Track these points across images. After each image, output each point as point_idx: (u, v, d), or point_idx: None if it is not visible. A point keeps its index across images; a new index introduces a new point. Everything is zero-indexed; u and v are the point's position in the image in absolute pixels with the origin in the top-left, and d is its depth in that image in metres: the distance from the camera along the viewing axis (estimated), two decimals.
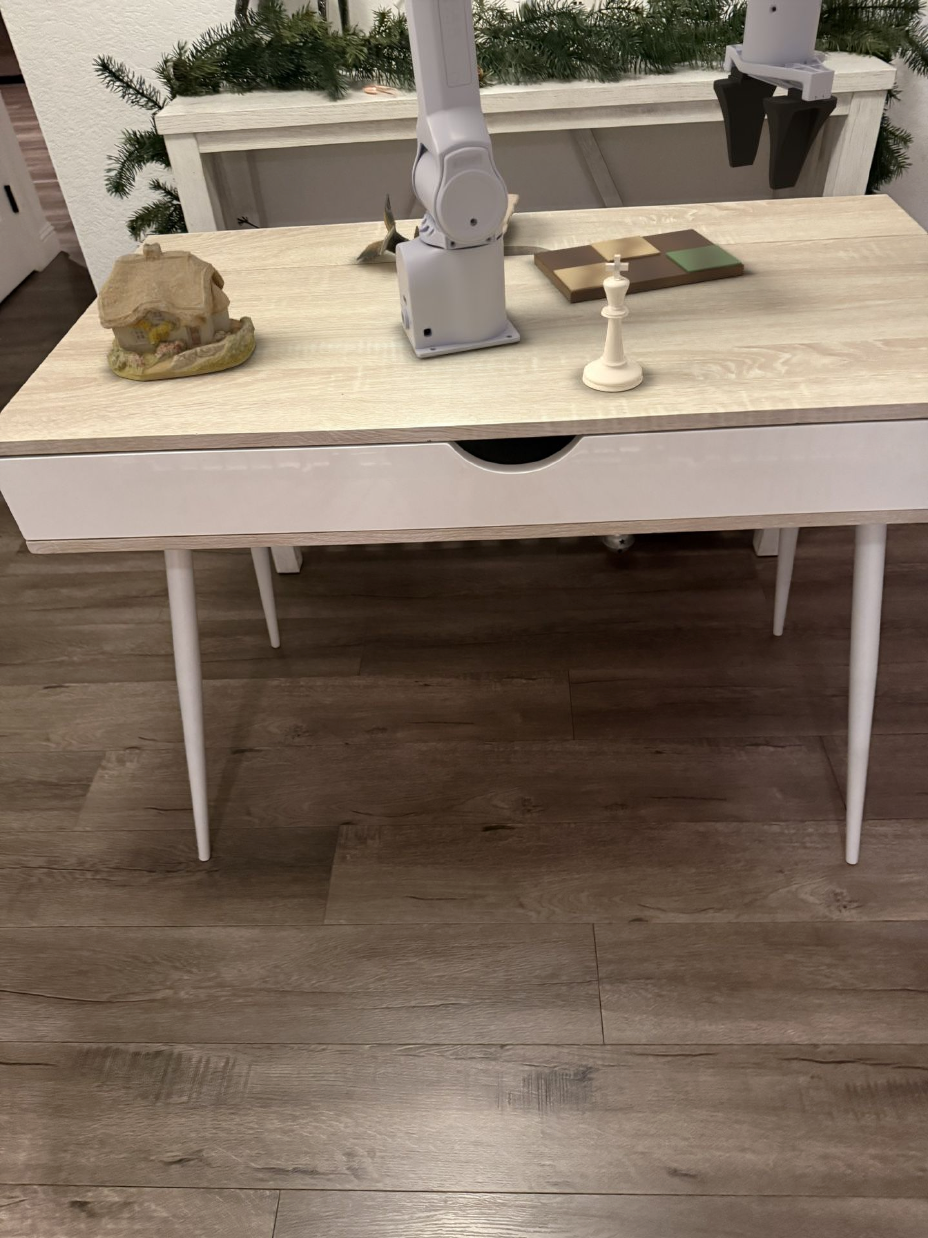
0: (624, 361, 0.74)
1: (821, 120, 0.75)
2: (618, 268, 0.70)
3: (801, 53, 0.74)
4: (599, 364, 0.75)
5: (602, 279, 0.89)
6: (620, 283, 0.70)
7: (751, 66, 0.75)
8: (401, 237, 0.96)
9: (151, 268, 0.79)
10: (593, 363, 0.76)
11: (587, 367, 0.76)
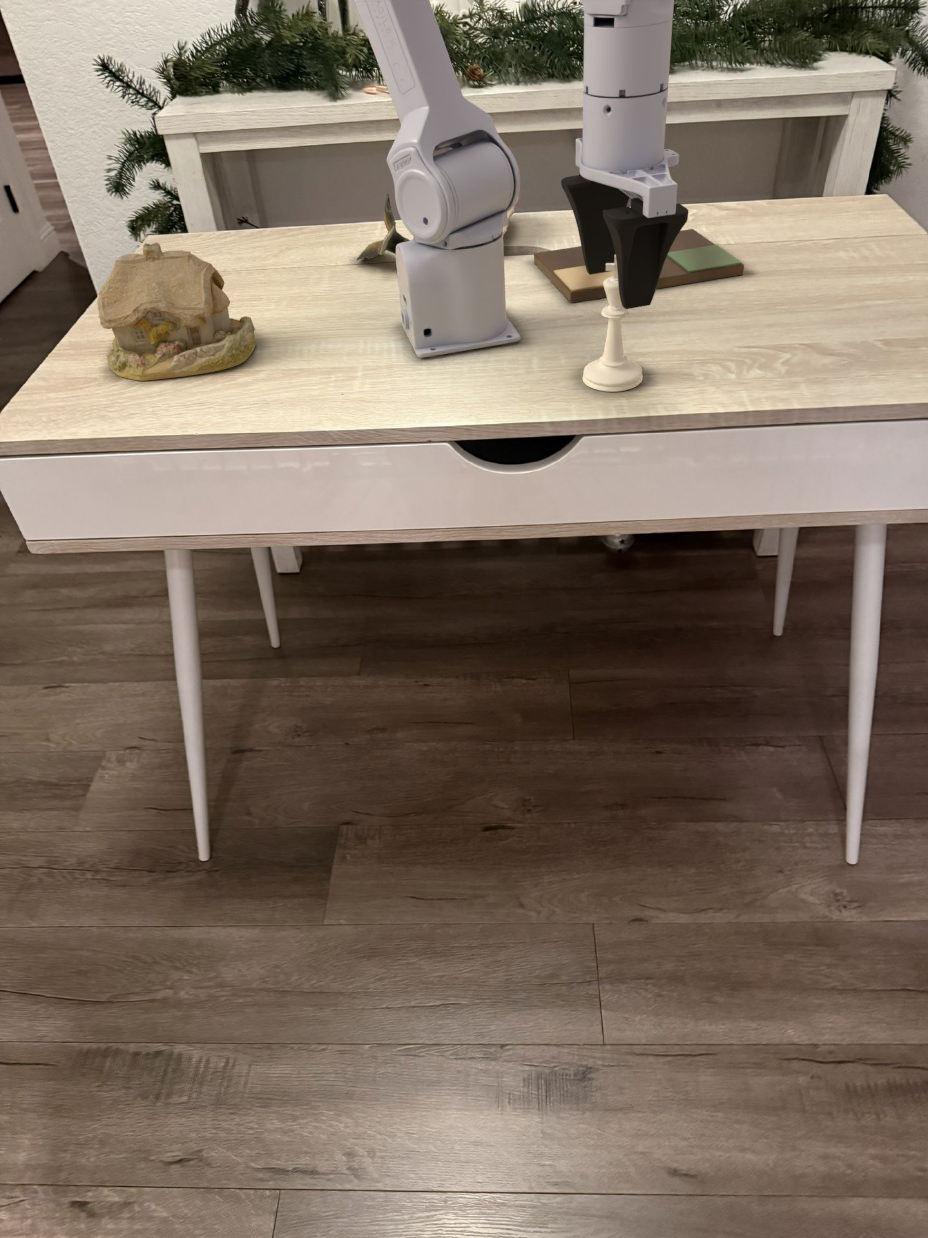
0: (624, 361, 0.74)
1: (671, 235, 0.64)
2: None
3: (646, 159, 0.63)
4: (599, 364, 0.75)
5: (602, 279, 0.89)
6: None
7: (590, 172, 0.64)
8: (401, 237, 0.96)
9: (151, 268, 0.79)
10: (593, 363, 0.76)
11: (587, 367, 0.76)
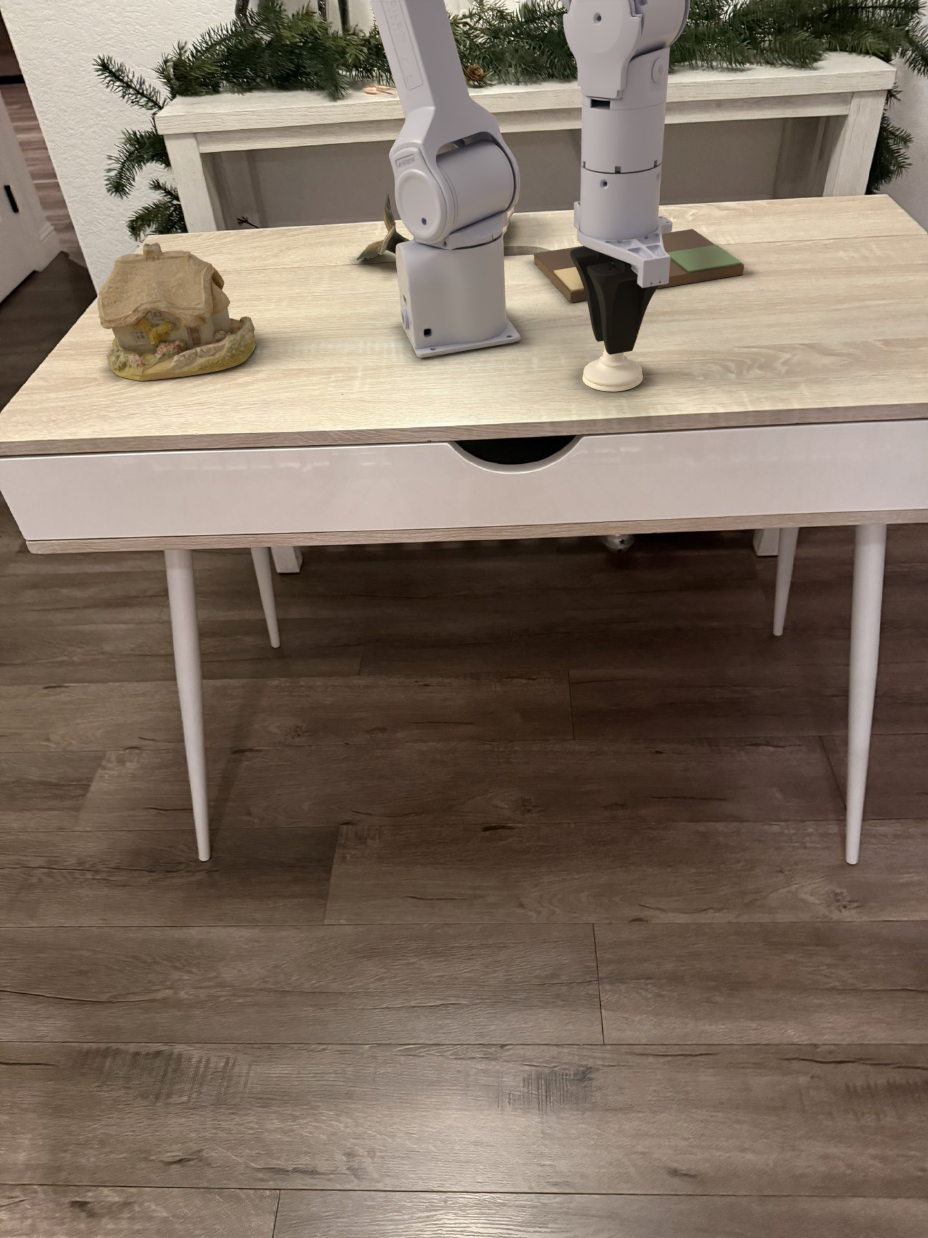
0: (624, 361, 0.74)
1: (651, 289, 0.69)
2: None
3: (640, 229, 0.66)
4: (599, 364, 0.75)
5: None
6: None
7: (587, 240, 0.67)
8: (401, 237, 0.96)
9: (151, 268, 0.79)
10: (593, 363, 0.76)
11: (587, 367, 0.76)
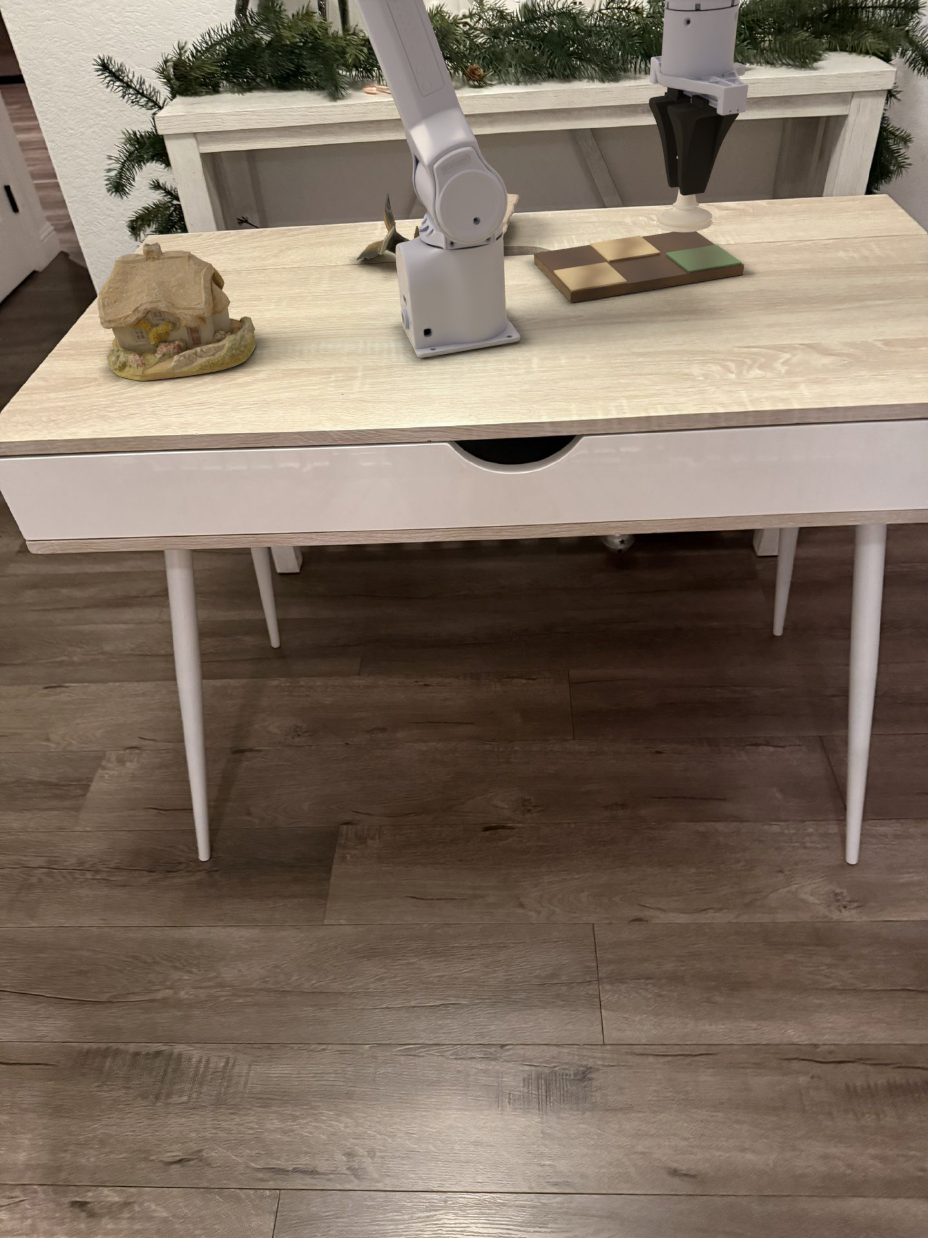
0: (696, 205, 0.81)
1: (725, 127, 0.75)
2: None
3: (718, 66, 0.72)
4: (672, 209, 0.82)
5: (602, 279, 0.89)
6: None
7: (669, 79, 0.74)
8: (401, 237, 0.96)
9: (151, 268, 0.79)
10: (666, 210, 0.83)
11: (661, 213, 0.82)
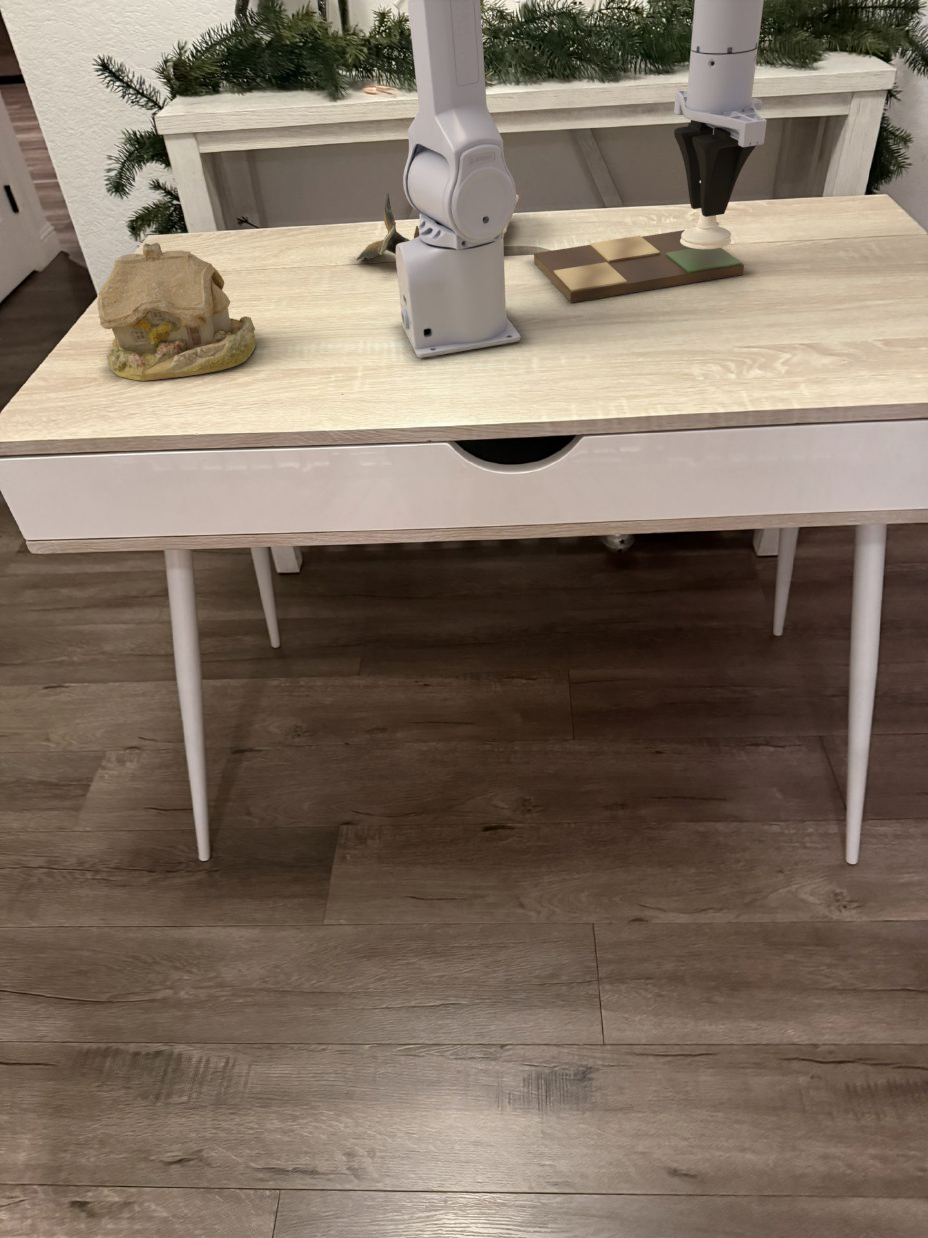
0: (717, 224, 0.89)
1: (744, 156, 0.84)
2: None
3: (739, 103, 0.81)
4: (695, 228, 0.90)
5: (602, 279, 0.89)
6: None
7: (694, 113, 0.82)
8: (401, 237, 0.96)
9: (151, 268, 0.79)
10: (689, 229, 0.91)
11: (684, 232, 0.91)
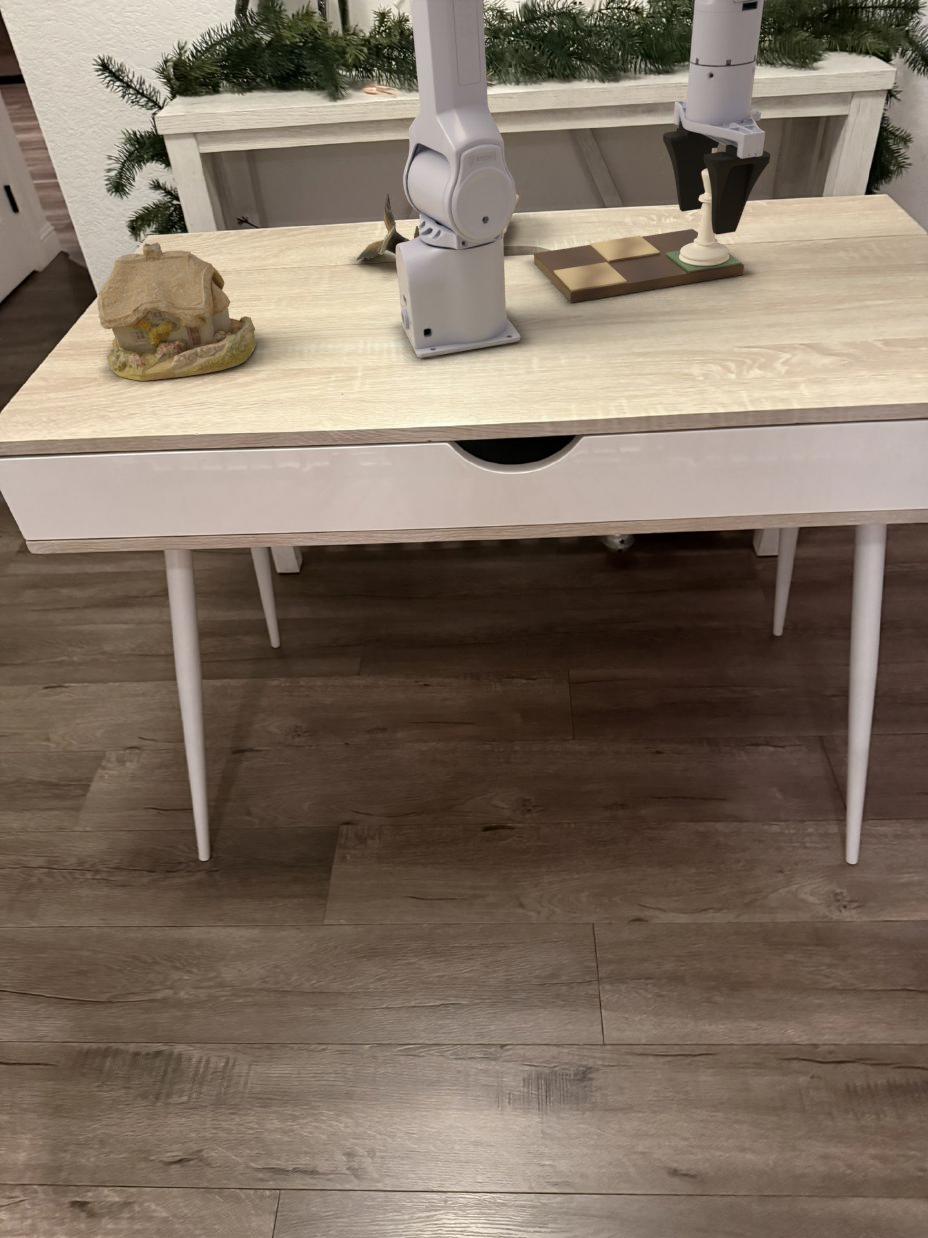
0: (715, 241, 0.90)
1: (756, 174, 0.82)
2: None
3: (738, 114, 0.81)
4: (693, 244, 0.91)
5: (602, 279, 0.89)
6: None
7: (693, 125, 0.83)
8: (401, 237, 0.96)
9: (151, 268, 0.79)
10: (688, 245, 0.92)
11: (683, 248, 0.92)
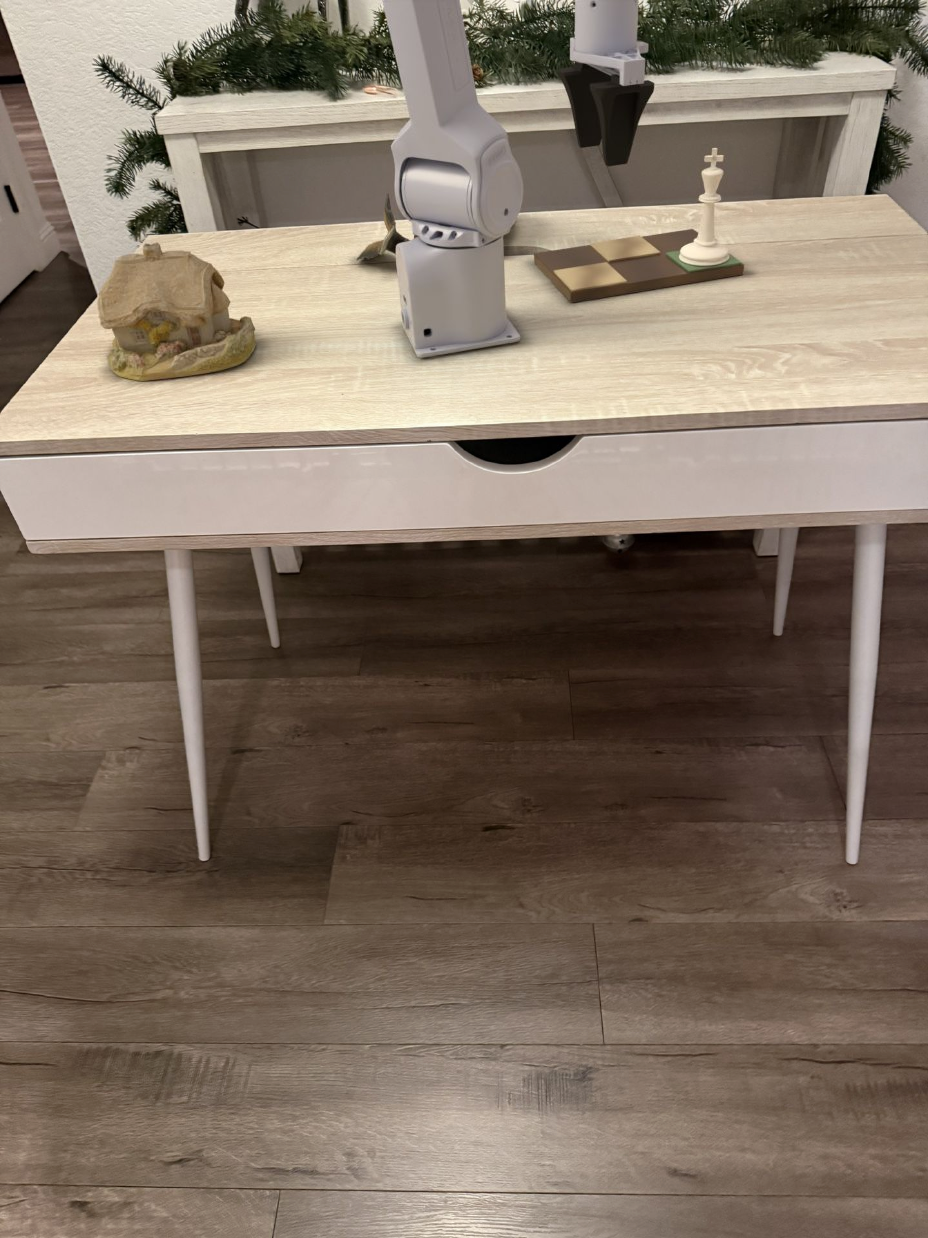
0: (715, 241, 0.90)
1: (641, 104, 0.84)
2: (715, 159, 0.86)
3: (622, 44, 0.83)
4: (693, 244, 0.91)
5: (602, 279, 0.89)
6: (716, 172, 0.86)
7: (580, 55, 0.84)
8: (401, 237, 0.96)
9: (151, 268, 0.79)
10: (688, 245, 0.92)
11: (683, 248, 0.92)
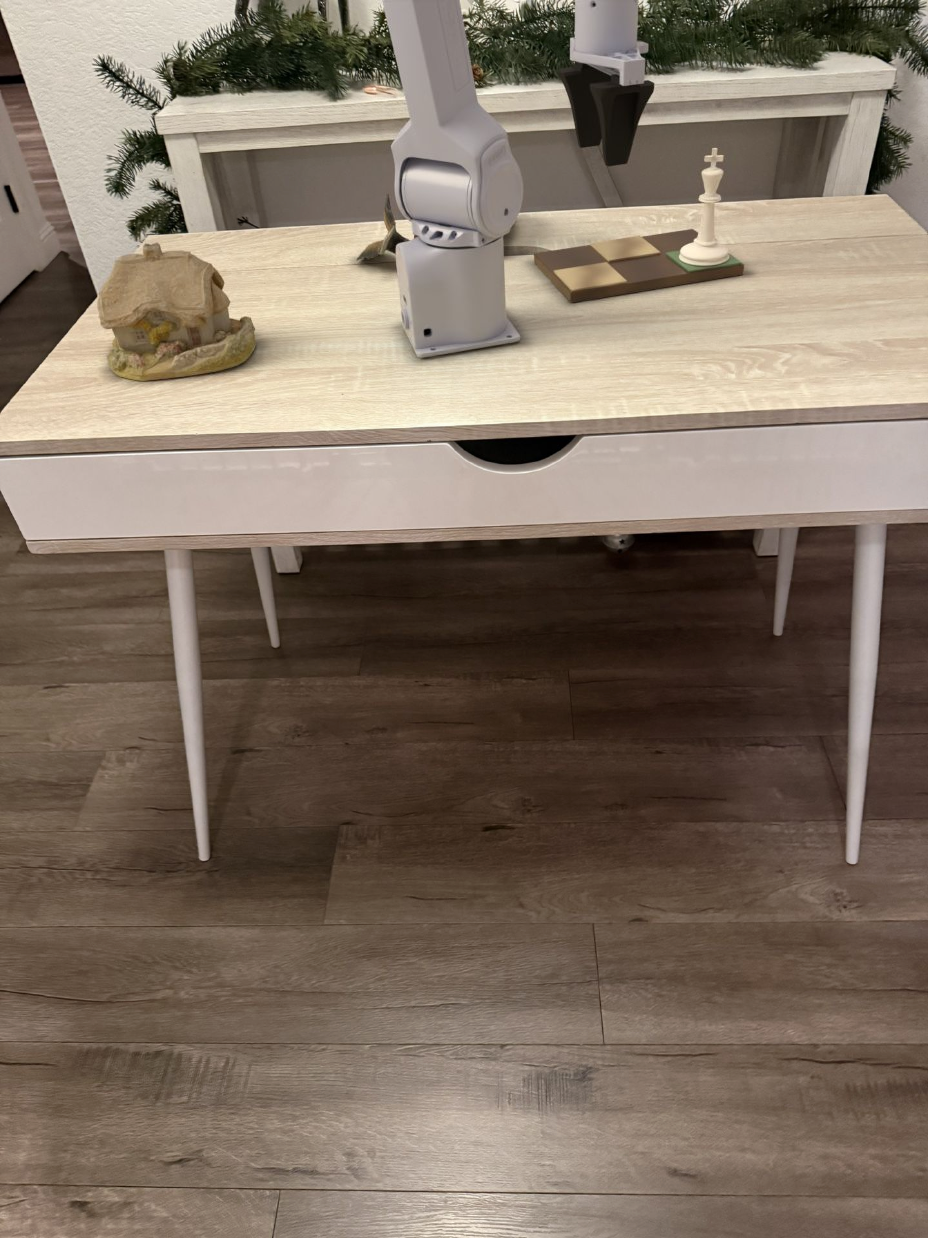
0: (715, 241, 0.90)
1: (641, 104, 0.84)
2: (715, 159, 0.86)
3: (622, 44, 0.83)
4: (693, 244, 0.91)
5: (602, 279, 0.89)
6: (716, 172, 0.86)
7: (580, 55, 0.84)
8: (401, 237, 0.96)
9: (151, 268, 0.79)
10: (688, 245, 0.92)
11: (683, 248, 0.92)
